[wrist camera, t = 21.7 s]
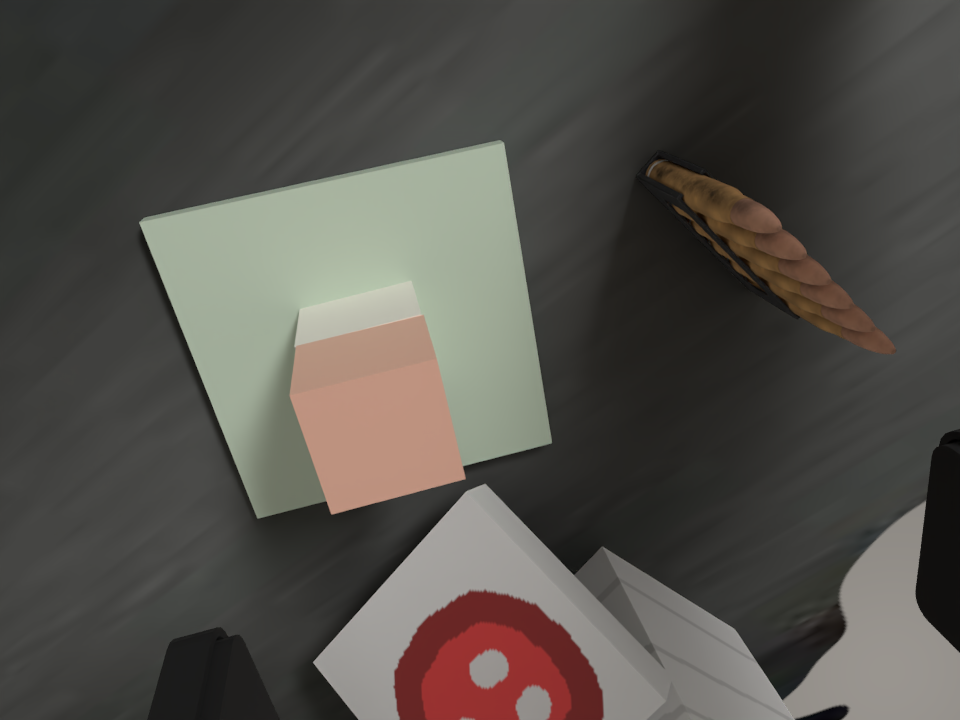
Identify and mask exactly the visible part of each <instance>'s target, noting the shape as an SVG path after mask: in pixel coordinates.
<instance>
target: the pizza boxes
mask: <svg viewBox="0 0 960 720" xmlns="http://www.w3.org/2000/svg"><path fill="white" fill-rule="evenodd" d="M313 663H314V665H315V666H316V667H317V668H318V670H319V671H320V672H321V673H322V675H323V676H324V677H325V678H326V680H327V681H328V682H329V683H330V685H331V686H332V687H333V688H334V690H335V691H336V692H337V693H338V695H339V696H340V697H341V698H342V700H343V701H344V702H345V703H346V705H347V706H348V707H349V708H350V710H351V711H352V712H353V713H354V715H355V716H356V717H357V718H358V720H795V719H794V718H793V716H792V714H791V713H790V712H789V710H788V708H787V707H786V705H785V704H784V702H783V701H782V699H781V698H780V696H779V695H778V693H777V692H776V690H775V689H774V687H773V686H772V684H771V683H770V681H769V680H768V678H767V677H766V675H765V674H764V672H763V671H762V669H761V668H760V666H759V665H758V663H757V662H756V660H755V659H754V657H753V656H752V654H751V653H750V651H749V650H748V648H747V647H746V645H745V644H744V642H743V641H742V639H741V638H740V636H739V635H738V633H737V632H736V630H735V629H734V628H732V627H730V626H729V625H727V624H726V623H724V622H722V621H721V620H719V619H718V618H716V617H714V616H713V615H711V614H710V613H708V612H706V611H705V610H703V609H702V608H700V607H698V606H697V605H695V604H694V603H692V602H690V601H689V600H687V599H686V598H684V597H682V596H681V595H679V594H678V593H676V592H674V591H673V590H671V589H670V588H668V587H666V586H665V585H663V584H662V583H660V582H658V581H657V580H655V579H654V578H652V577H650V576H649V575H647V574H646V573H644V572H642V571H641V570H639V569H638V568H636V567H634V566H633V565H631V564H630V563H628V562H626V561H625V560H623V559H622V558H620V557H618V556H617V555H615V554H614V553H612V552H610V551H609V550H607V549H606V548H604V547H601V548H600V549H599V550H598V551H597V552H596V553H595V554H594V555H593V556H592V557H591V558H590V559H589V560H588V561H587V562H586V563H585V565H584V566H583V567H582V568H581V569H580V570H579V571H578V572H577V573H576V574H575V575H573V574H572V573H571V572H570V571H569V570H568V569H567V568H566V567H565V566H564V565H563V564H562V562H561V561H560V560H559V559H558V558H557V557H556V556H555V555H554V554H553V553H552V552H551V551H550V550H549V549H548V548H547V547H546V546H545V545H544V544H543V543H542V542H541V541H540V540H539V539H538V538H537V537H536V536H535V535H534V534H533V532H532V531H531V530H530V529H529V528H528V527H527V526H526V525H525V524H524V523H523V522H522V521H521V520H520V519H519V518H518V517H517V516H516V515H515V514H514V513H513V512H512V511H511V510H510V509H509V508H508V507H507V506H506V505H505V504H504V502H503V501H502V500H501V499H500V498H499V497H498V496H497V495H496V494H495V493H494V492H493V491H492V490H491V489H490V488H489V487H488V486H487V485H486V484H483V485H481V486H478V487H476V488H473V489H471V490H468V491H466V492H465V493H464V494H463V496H462V497H461V498H460V499H459V500H458V501H457V502H456V503H455V504H454V506H453V507H452V508H451V509H450V510H449V511H448V512H447V513H446V515H445V516H444V517H443V518H442V519H441V520H440V521H439V522H438V523H437V525H436V526H435V527H434V528H433V529H432V530H431V531H430V532H429V533H428V535H427V536H426V537H425V538H424V539H423V540H422V541H421V542H420V544H419V545H418V546H417V547H416V548H415V549H414V550H413V551H412V552H411V554H410V555H409V556H408V557H407V558H406V559H405V560H404V561H403V562H402V564H401V565H400V566H399V567H398V568H397V569H396V570H395V571H394V572H393V574H392V575H391V576H390V577H389V578H388V579H387V580H386V581H385V583H384V584H383V585H382V586H381V587H380V588H379V589H378V590H377V591H376V593H375V594H374V595H373V596H372V597H371V598H370V599H369V600H368V601H367V603H366V604H365V605H364V606H363V607H362V608H361V609H360V610H359V612H358V613H357V614H356V615H355V616H354V617H353V618H352V619H351V620H350V622H349V623H348V624H347V625H346V626H345V627H344V628H343V629H342V630H341V632H340V633H339V634H338V635H337V636H336V637H335V638H334V639H333V640H332V642H331V643H330V644H329V645H328V646H327V647H326V648H325V649H324V651H323V652H322V653H321V654H320V655H319V656H318V657H317V658H316V659H315V661H314V662H313Z"/></svg>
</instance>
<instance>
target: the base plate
mask: <svg viewBox="0 0 960 720" xmlns="http://www.w3.org/2000/svg"><path fill="white" fill-rule="evenodd" d="M139 223H140V226H141V228H142V231H143V233H144V236H145V238H146V241H147V243H148V246H149V248H150V251H151V253H152V256H153V258H154V261H155V263H156V266H157V268H158V271H159V273H160V276H161V278H162V281H163V283H164V286H165V288H166V291H167V293H168V296H169V298H170V301H171V303H172V306H173V308H174V311H175V313H176V316H177V318H178V321H179V323H180V326H181V328H182V331H183V333H184V336H185V338H186V341H187V343H188V346H189V348H190V351H191V353H192V356H193V359H194V361H195V364H196V366H197V369H198V371H199V374H200V376H201V379H202V381H203V384H204V386H205V389H206V391H207V394H208V396H209V399H210V401H211V404H212V406H213V409H214V411H215V414H216V416H217V419H218V421H219V424H220V426H221V429H222V431H223V434H224V436H225V439H226V441H227V444H228V446H229V449H230V451H231V454H232V456H233V459H234V461H235V464H236V466H237V469H238V471H239V474H240V476H241V479H242V481H243V484H244V486H245V489H246V491H247V494H248V496H249V499H250V501H251V504H252V506H253V509H254V511H255V514H256V516H257V519H258V518H262V517H266V516H270V515H274V514H278V513H282V512H286V511H290V510H293V509H297V508H301V507H305V506H309V505H313V504H317V503H321V502H325V501H326V498H325V495H324V492H323V489H322V487H321V484H320V481H319V478H318V475H317V472H316V470H315V467H314V464H313V461H312V458H311V455H310V452H309V450H308V447H307V444H306V441H305V438H304V435H303V433H302V430H301V427H300V424H299V421H298V418H297V416H296V413H295V410H294V407H293V404H292V401H291V399H290V396H289V395H290V388H291V380H292V373H293V366H294V358H295V351H296V350H295V347H294V346H295V339H296V331H297V324H298V317H299V310H300V309H302V308H306V307H310V306H314V305H318V304H322V303H325V302H329V301H333V300H337V299H341V298H345V297H349V296H353V295H357V294H361V293H365V292H369V291H373V290H376V289H380V288H384V287H388V286H392V285H396V284H400V283H404V282H408V281H412V284H413V287H414V290H415V294H416V297H417V301H418V304H419V307H420V311H421V314H422V315H424V318H425V321H426V324H427V328H428V331H429V334H430V338H431V341H432V344H433V348H434V351H435V354H436V358H437V361H438V366H439V370H440V374H441V378H442V382H443V386H444V390H445V395H446V399H447V403H448V407H449V411H450V415H451V420H452V424H453V428H454V432H455V436H456V440H457V444H458V449H459V453H460V457H461V461H462V465H463V466H465V465H469V464H473V463H477V462H481V461H485V460H489V459H493V458H497V457H501V456H504V455H508V454H512V453H516V452H520V451H524V450H528V449H532V448H536V447H540V446H544V445H547V444H551V443H552V440H551V433H550V427H549V421H548V415H547V408H546V402H545V396H544V390H543V384H542V377H541V371H540V365H539V359H538V352H537V346H536V340H535V334H534V327H533V321H532V315H531V309H530V302H529V296H528V290H527V284H526V277H525V271H524V265H523V259H522V253H521V246H520V240H519V234H518V228H517V221H516V215H515V209H514V203H513V196H512V190H511V184H510V178H509V171H508V165H507V159H506V153H505V147H504V143H503V142H502V141H500V140H498V141H494V142H489V143H484V144H480V145H475V146H471V147H466V148H461V149H457V150H452V151H448V152H443V153H439V154H434V155H429V156H425V157H420V158H416V159H411V160H406V161H402V162H397V163H393V164H388V165H383V166H379V167H374V168H370V169H365V170H361V171H356V172H351V173H347V174H342V175H338V176H333V177H328V178H324V179H319V180H315V181H310V182H306V183H301V184H296V185H292V186H287V187H283V188H278V189H273V190H269V191H264V192H260V193H255V194H250V195H246V196H241V197H237V198H232V199H228V200H223V201H218V202H214V203H209V204H205V205H200V206H195V207H191V208H186V209H182V210H177V211H172V212H168V213H163V214H159V215H154V216H150V217H145V218H143V219H142V220H141V221H140V222H139Z"/></svg>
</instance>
